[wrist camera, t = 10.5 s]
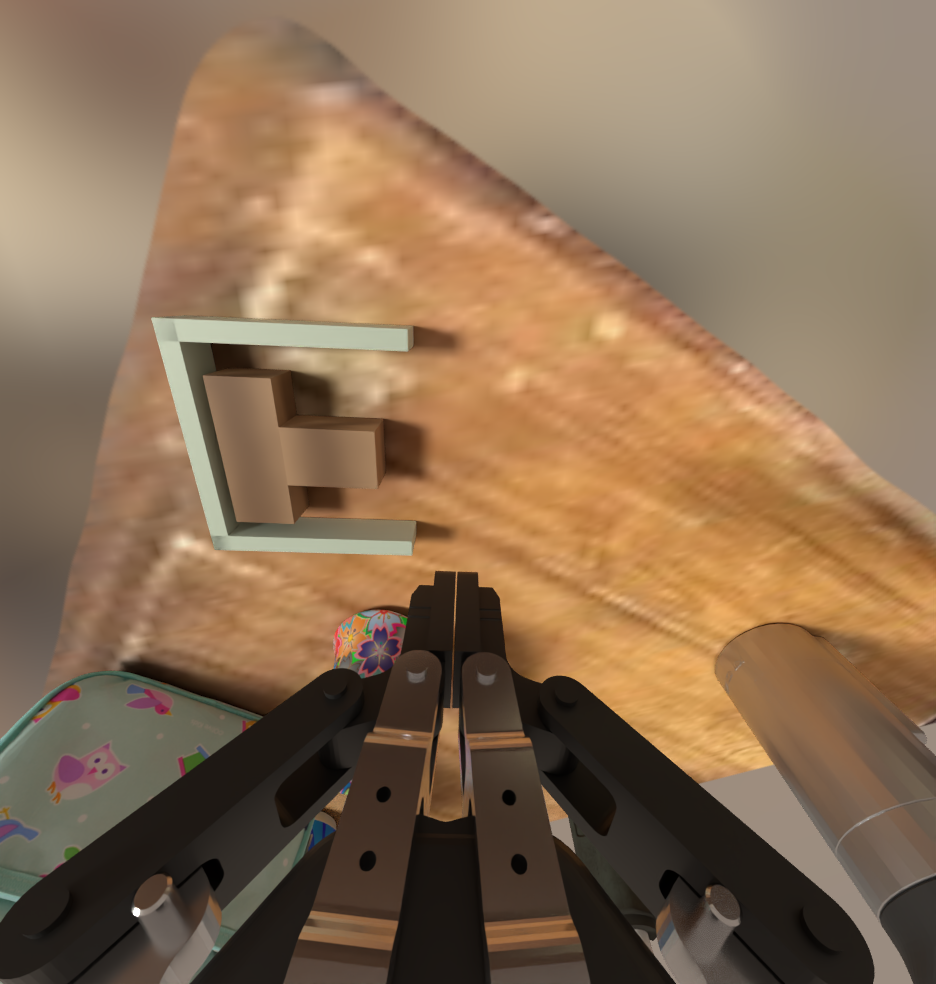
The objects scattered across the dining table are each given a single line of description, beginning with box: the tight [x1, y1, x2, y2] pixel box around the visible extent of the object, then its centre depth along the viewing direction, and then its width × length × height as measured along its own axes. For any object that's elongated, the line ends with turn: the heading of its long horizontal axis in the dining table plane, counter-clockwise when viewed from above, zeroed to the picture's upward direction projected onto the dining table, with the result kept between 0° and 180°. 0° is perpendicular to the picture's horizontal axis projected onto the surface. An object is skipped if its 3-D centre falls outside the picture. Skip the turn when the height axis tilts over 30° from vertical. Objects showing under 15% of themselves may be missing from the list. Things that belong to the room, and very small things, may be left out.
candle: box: [568, 816, 657, 953], centre depth 35 cm, size 5×5×25 cm
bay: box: [151, 315, 416, 555], centre depth 27 cm, size 14×15×3 cm
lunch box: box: [0, 671, 315, 984], centre depth 32 cm, size 27×10×21 cm, turn 56°
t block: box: [203, 368, 386, 524], centre depth 28 cm, size 10×10×3 cm
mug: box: [333, 610, 408, 795], centre depth 33 cm, size 12×9×11 cm
